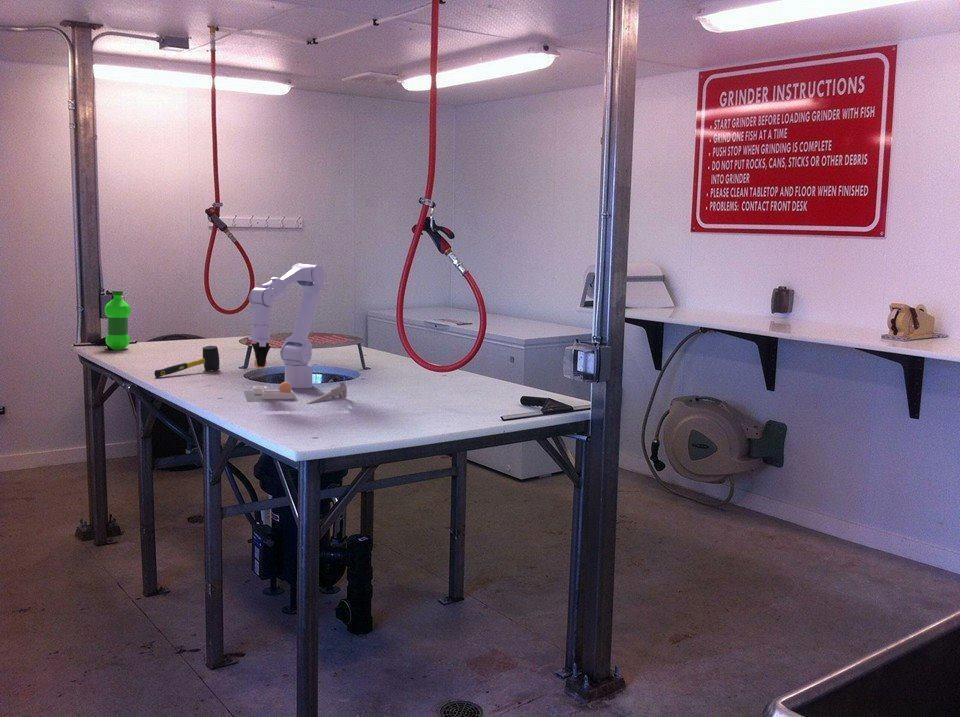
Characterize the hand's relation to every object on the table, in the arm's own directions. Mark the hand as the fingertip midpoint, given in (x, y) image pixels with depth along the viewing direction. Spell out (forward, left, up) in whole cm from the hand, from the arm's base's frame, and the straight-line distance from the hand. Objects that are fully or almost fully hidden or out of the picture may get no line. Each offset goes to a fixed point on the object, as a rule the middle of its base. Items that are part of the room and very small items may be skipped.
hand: (260, 365), depth 291 cm
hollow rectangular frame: (-5, +8, -9) cm, 13 cm away
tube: (0, 0, -9) cm, 9 cm away
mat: (-3, +5, -10) cm, 12 cm away
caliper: (-20, +12, -11) cm, 26 cm away
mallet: (+23, -46, -11) cm, 52 cm away
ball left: (-7, +8, -6) cm, 12 cm away
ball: (0, 0, +1) cm, 1 cm away
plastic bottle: (+51, -111, -10) cm, 123 cm away
